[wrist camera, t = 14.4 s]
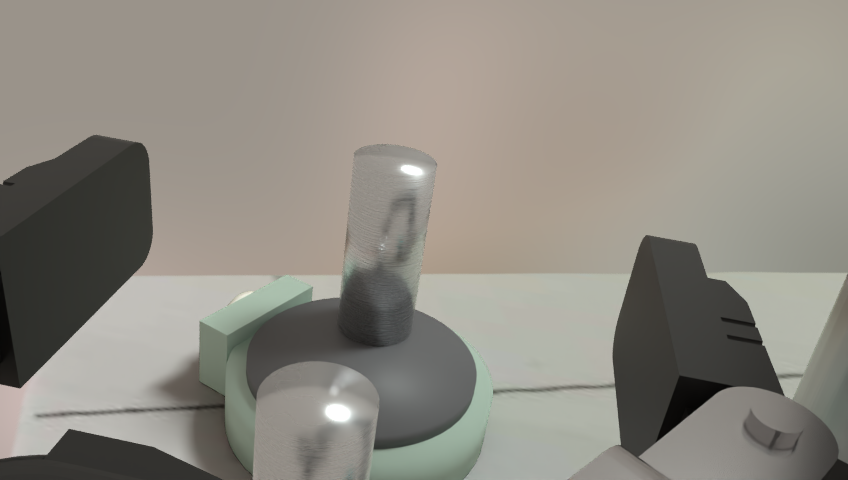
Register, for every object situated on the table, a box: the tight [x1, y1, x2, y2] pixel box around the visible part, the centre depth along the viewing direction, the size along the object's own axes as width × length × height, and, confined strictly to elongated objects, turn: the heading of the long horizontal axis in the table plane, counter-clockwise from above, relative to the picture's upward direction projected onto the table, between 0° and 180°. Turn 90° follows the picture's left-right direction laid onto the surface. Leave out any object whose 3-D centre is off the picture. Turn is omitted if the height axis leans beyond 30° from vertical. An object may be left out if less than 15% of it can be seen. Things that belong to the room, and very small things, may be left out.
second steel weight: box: [337, 144, 437, 347], centre depth 41 cm, size 4×4×10 cm
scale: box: [199, 275, 493, 480], centre depth 41 cm, size 16×14×4 cm
